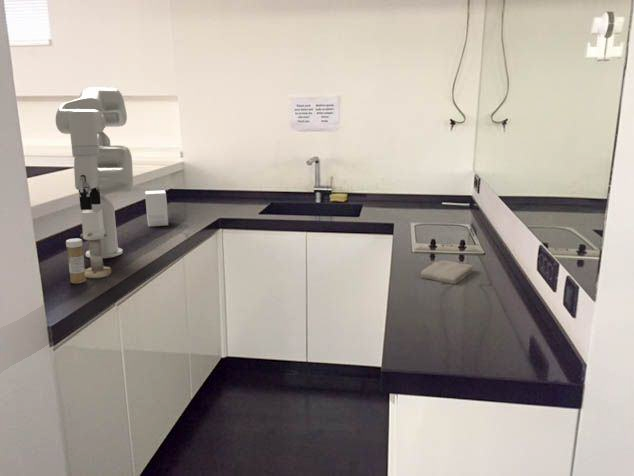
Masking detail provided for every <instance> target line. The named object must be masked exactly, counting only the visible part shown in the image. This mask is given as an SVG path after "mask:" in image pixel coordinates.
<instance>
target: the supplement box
mask: <svg viewBox="0 0 634 476" xmlns="http://www.w3.org/2000/svg"><path fill="white" fill-rule="evenodd" d="M144 193H145V195H144V196H145V208H146V218H147V219H146V221H147V226H148V227H161V226H162V227H163V226H169V217H168V213H169V212H168V202H167V201H168V200H167V193H166V191H165V189H163V190H145V191H144Z"/></svg>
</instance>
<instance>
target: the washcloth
mask: <svg viewBox="0 0 634 476" xmlns="http://www.w3.org/2000/svg"><path fill="white" fill-rule="evenodd" d="M473 269H474V265H472V264H467V263H459V262H456V261H452V260H445V259H443V260H440V261H434V262H433V263H432V264H430V265H429V266H427V267H426V268H424V269H422V270H421V272H420V278H422V279H425V280H432V281H436V282H439V283H446V284H451V285H456V284H457V283H458V282H460V281H461V280H463V279H464V278H465V277H467V275H470V274H471V273H473V272H474V270H473Z"/></svg>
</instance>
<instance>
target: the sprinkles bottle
mask: <svg viewBox="0 0 634 476" xmlns="http://www.w3.org/2000/svg"><path fill="white" fill-rule="evenodd" d="M65 246H66V249H67V258H68V260H67V261H68V268H69V269H68V271H69V275H70V276H69V277H70V283H72V284H81V283H84V282H86V281H87V277H85V270H86V268H85V267H86V265H85V259H84V252H83V249H84V248H83V238H78V237H77V238H76V237H75V238H69V239H66V241H65Z"/></svg>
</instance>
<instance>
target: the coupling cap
mask: <svg viewBox="0 0 634 476" xmlns="http://www.w3.org/2000/svg"><path fill="white" fill-rule="evenodd" d="M80 215H81V217H80V219H81V226H82V233H81V234H80V238H82V240H85V241H88V240H97V239H102V238H104V237H107V236H108V234H107V233H105V230H104V225H103V214H102V210H82V212H81V213H80Z"/></svg>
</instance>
